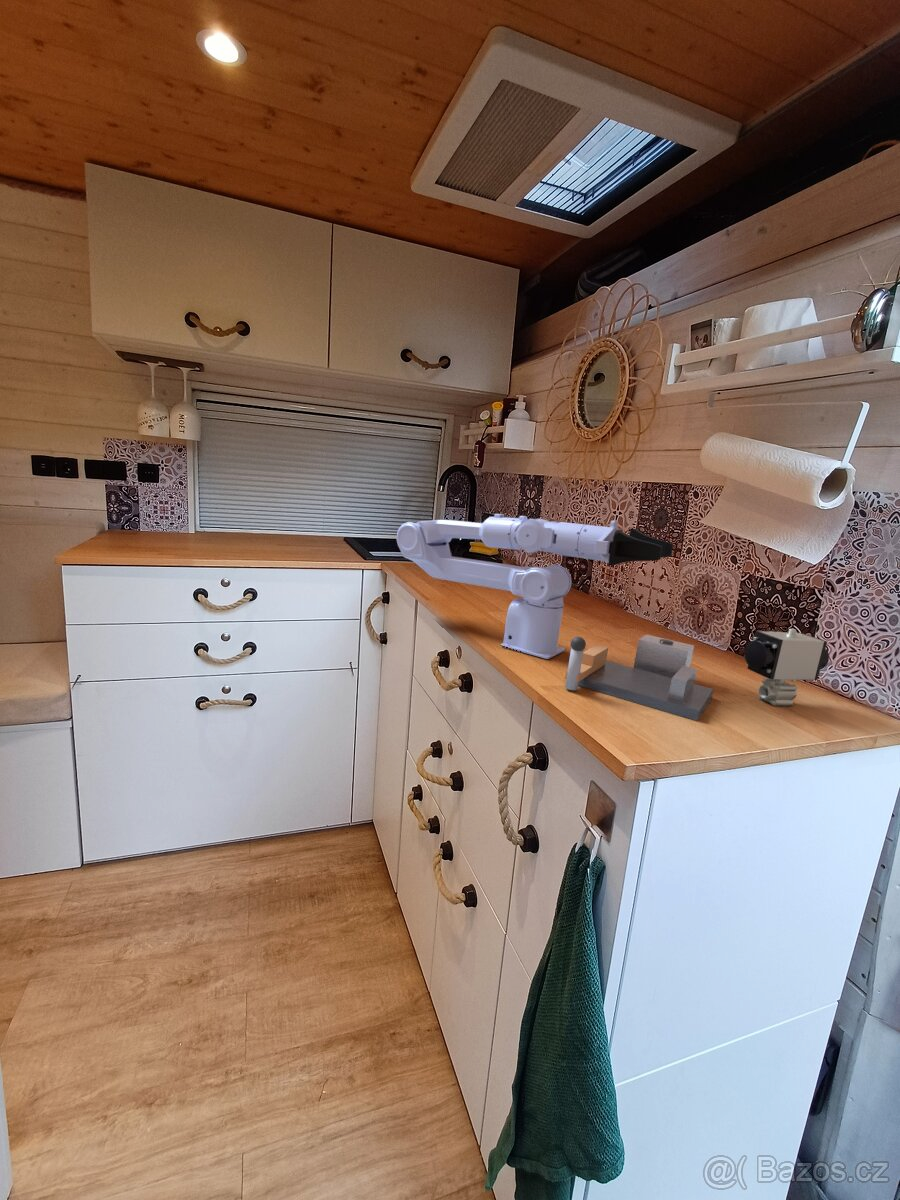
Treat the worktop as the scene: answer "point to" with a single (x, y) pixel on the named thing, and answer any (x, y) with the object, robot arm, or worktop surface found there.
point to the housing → (662, 655)
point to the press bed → (652, 688)
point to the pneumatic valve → (785, 662)
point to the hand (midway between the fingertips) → (666, 551)
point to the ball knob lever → (583, 662)
